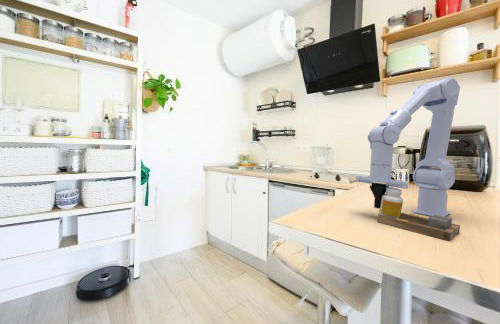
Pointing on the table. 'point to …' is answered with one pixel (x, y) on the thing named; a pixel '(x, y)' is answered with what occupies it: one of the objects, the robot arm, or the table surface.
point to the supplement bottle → (391, 203)
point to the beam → (424, 225)
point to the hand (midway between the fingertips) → (378, 207)
